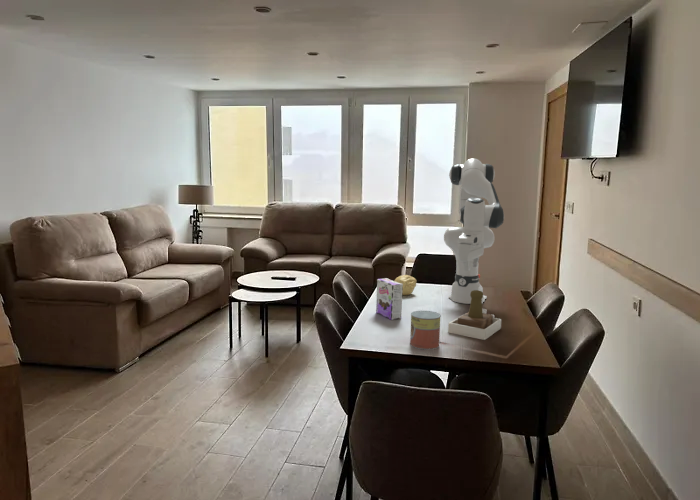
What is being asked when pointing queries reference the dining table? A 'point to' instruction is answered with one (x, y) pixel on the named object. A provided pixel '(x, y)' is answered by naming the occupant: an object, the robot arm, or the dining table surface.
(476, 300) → the olive waisted cylinder
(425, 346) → the canned food
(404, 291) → the beige rounded lump
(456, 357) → the dining table surface
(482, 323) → the walnut block
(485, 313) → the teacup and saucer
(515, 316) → the dining table surface
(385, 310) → the candy box
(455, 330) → the tote
